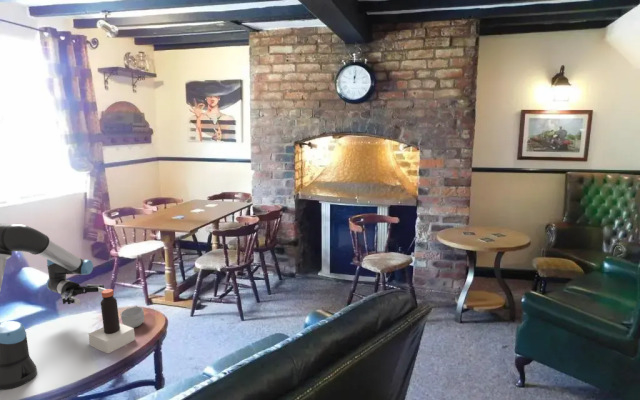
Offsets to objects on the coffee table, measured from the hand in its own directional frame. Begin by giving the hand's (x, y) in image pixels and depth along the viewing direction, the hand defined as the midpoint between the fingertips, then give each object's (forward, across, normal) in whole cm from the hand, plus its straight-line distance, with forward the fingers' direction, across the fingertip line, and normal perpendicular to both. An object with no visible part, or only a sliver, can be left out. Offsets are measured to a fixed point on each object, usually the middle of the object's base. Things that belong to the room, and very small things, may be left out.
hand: (93, 297), depth 206 cm
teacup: (+4, -18, -21) cm, 28 cm away
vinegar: (+11, -1, -15) cm, 19 cm away
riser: (+11, 0, -21) cm, 24 cm away
